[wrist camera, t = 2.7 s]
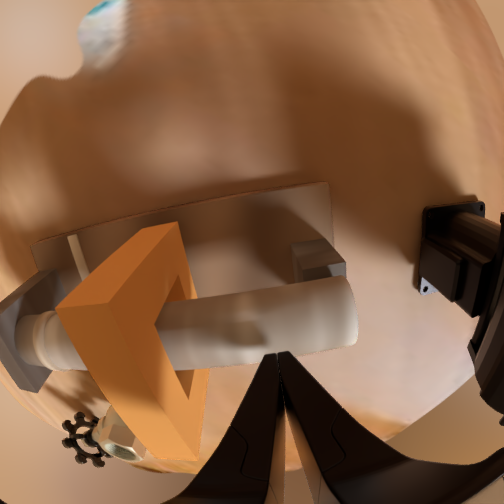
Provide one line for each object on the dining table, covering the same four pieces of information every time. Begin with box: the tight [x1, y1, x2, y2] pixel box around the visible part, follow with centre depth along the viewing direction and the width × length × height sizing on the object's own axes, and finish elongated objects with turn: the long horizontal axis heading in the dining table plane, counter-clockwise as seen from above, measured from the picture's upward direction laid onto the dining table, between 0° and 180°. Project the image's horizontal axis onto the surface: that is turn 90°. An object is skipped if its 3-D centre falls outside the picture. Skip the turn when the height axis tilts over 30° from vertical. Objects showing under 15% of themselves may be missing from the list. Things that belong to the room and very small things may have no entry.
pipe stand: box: [0, 181, 358, 393], centre depth 13 cm, size 20×9×8 cm, turn 99°
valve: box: [62, 405, 146, 467], centre depth 19 cm, size 7×7×12 cm
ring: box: [55, 221, 210, 461], centre depth 11 cm, size 2×8×8 cm, turn 10°
